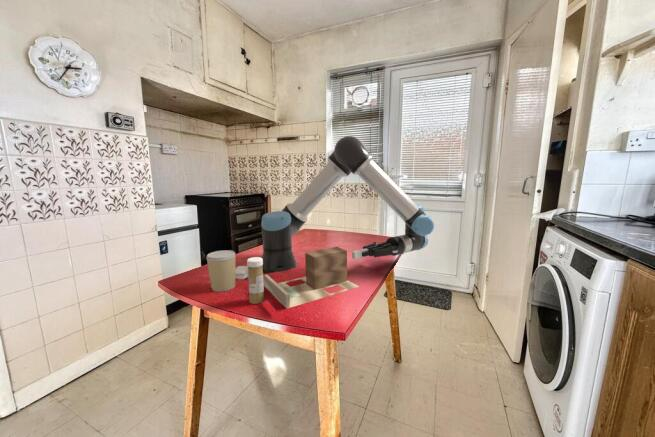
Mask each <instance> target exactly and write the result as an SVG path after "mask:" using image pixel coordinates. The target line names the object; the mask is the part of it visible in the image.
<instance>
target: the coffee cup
mask: <svg viewBox="0 0 655 437" xmlns="http://www.w3.org/2000/svg"><path fill="white" fill-rule="evenodd" d="M236 254H237V253H236V252H235V251H234V250H231V249H229V250H227V249H226V250H215V251H213V252H212V251H211V252H209V253H208V254H207V255H206V257H205V258H206V261H207V268H208V276H209V280H210V287H211V290H212V291H213V292H219V293H220V292H226V291H229V290H232V289H234V288H235V287H236V278H235V275H236V268H237V266H236V265H237V264H236Z"/></svg>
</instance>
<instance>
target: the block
mask: <svg viewBox="0 0 655 437" xmlns="http://www.w3.org/2000/svg"><path fill="white" fill-rule="evenodd" d="M304 257H305V258H304V260H305V277H306V282H305V283H306V284H307V285H308V286H310V287H311V288H313V289H314V290H317V289H320V288H324V287H327V286H331V285H335V284H338V283H342V282H345V281H347V280H348V250H347V249H345V248H342V247H339V246H334V247H329V248H323V249H318V250H312V251H307V252H305V254H304Z"/></svg>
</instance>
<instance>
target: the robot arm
mask: <svg viewBox="0 0 655 437" xmlns="http://www.w3.org/2000/svg"><path fill="white" fill-rule="evenodd" d="M351 173H352V174H353V175H356V176H357V175H358V176H359V177H360V179H362V180H363V182H364V183H366V185H367V186H368V187H369V188H371V189H372V191H373V192H374V193H376V194H377V196H379V197H380V198H381V199H382V201H383V202H384V203H386V205H387V206H388V207H389V208H390V209H391V210H393V212H394V213H396V215H398V217H399V218H400V219H401V220H402V221H403V223H404V224H405V225H404V226H405V227H404V234H400V235H399V234H398V235H397V236H391V237H388V238H387V239H386V240H385V241H383V242H380V243H378V242H376V241H373V242H372V243H370V244H367V245H364V246H362V249H357V250H352V251H351V252H352V253H351V255H352V256H351V258H352V259H353V260H358V259H364V258H367V257H373V258H381V257H387V256H393V257H394V256H398V255H404V254H406V253H409V252H413V251H419V250H422V249H424V248H426V247H427V245H428V244H429V238H428V235H430V234H431V233H433V231H434V228H435V223H434V220H433V219H432V218H431V217H430V216H429V215H427V214H426V213H425V207H424V206H423V205H417V204H416V202H414V200H413V199H411V198H410V196H408V195H407V194H406V193H405V191H403V190H402V189H401V187H400V186H399V185H397V183H396V182H395V181H394V180H393V179H392V178H391V177H390V176H389V175H388V174H387V173H386V172H385V171H384V170H383V169H382V168H381V167H380V166H379V165H378V164H377V163H376V162H375V161H374V160H373V155H372V154H371V153H370V152H369V150H367V148H366V147H365V146H364V144H363V142H362V141H361V140H360V139H358V138H357V137H355V136H351V135H347V136H344V137H341V138H340V139H339V140H337V141H336V144H335V146H334V149H333V151H332V152H331V154H330V155H329V156H328V157H327V164H326V165H325V166H324V167H323V168H322V169H321V170H320V172H319V173H318V174H317V175H316V176H315V177H314V179H313V180H311V182H310V183H309V184H308V185H307V186H306V188H305V189H304V190H303V191H302V192H301V193H300V194H299V195H298V197H297V198H296V199H295V200H294V201H293V202H292V203H287V204H286V205H285V206H284V207H283V209H282V210H278V211H277V210H276V211H275V210H274V211H270V212H266V213H264V214H263V215H262V217H261V223H260V224H261V236H262V256H261V258H262V259H263V265H262V268H263V275H268V274H272V273H278V272H286V271H289V270H292V269H296V268H297V261H296V258H295V255H294V251H293V243H292V237H293V236H294V235H296V234H297V233H298V232H299V231H300V229H301V228H302V227H303V225H305V223H306V222H308V221H307V220H308V215H309V214H310V213H311V212H312V211H313V210H314V209H315V207H317V205H318V204H320V202H321V201H322V200H323V199H324V198H325V197H326V195H327V194H328V193H329V192H330V191H331V190H332V189H333V187H335V185H337V183H338V182H339V181H340V180H341V179H342V178H343V177H349V176H350V174H351Z"/></svg>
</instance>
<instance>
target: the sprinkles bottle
mask: <svg viewBox="0 0 655 437" xmlns="http://www.w3.org/2000/svg"><path fill="white" fill-rule="evenodd" d="M262 265H263V259H262V257H259V256H253V257H249V258H247V260H246V266H248V275H249V276H248V277H247V278H248V292H249V293H248V294H249V303H250V304H255V305H257V304H261V303H263V302H264V301H265V293H264V291H265V289H264V288H265V285H264V273H263V268H262Z"/></svg>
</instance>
